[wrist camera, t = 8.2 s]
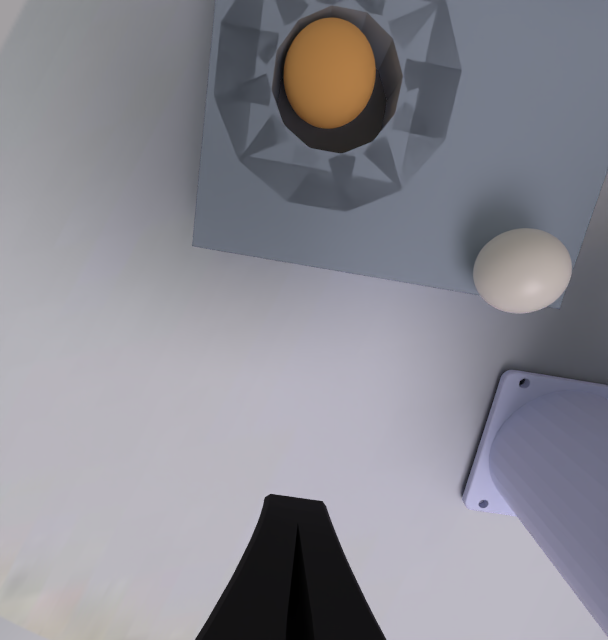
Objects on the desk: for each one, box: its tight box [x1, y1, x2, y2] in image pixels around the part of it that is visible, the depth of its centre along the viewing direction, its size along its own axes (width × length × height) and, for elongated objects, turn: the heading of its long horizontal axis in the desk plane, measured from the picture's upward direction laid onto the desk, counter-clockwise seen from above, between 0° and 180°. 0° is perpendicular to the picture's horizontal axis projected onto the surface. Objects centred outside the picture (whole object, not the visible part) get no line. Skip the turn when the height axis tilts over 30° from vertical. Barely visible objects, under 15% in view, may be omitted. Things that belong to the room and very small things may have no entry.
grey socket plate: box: [192, 0, 608, 309], centre depth 14 cm, size 15×13×2 cm
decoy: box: [473, 228, 572, 314], centre depth 13 cm, size 3×3×3 cm
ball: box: [283, 17, 376, 129], centre depth 13 cm, size 3×3×3 cm
